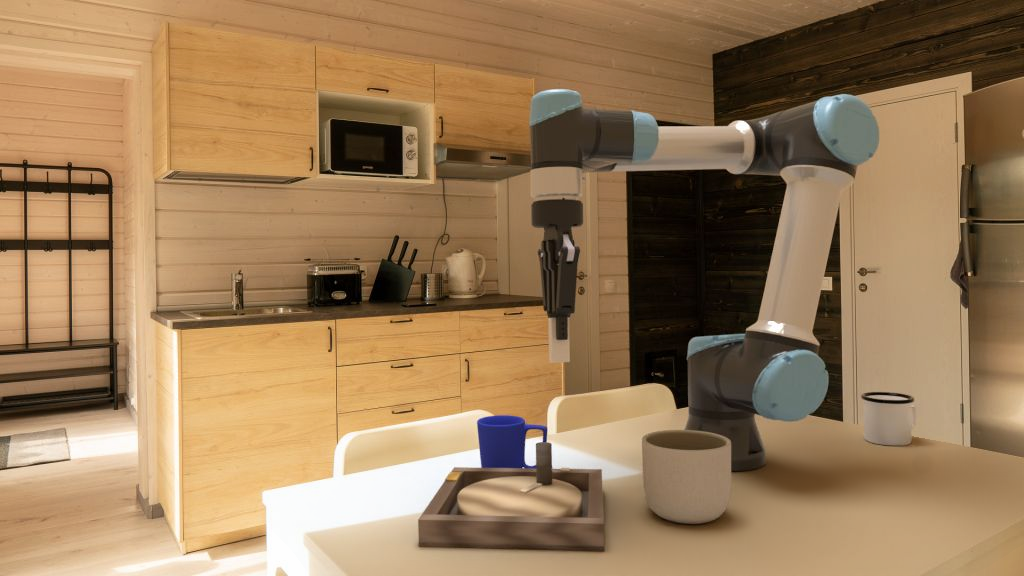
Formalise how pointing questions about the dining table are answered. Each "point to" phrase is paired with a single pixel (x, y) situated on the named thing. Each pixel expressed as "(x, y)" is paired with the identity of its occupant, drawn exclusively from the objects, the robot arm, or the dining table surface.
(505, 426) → the mug
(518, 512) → the dial
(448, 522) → the brown wooden tray
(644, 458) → the planter
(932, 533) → the dining table surface
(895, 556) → the dining table surface
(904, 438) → the mug
